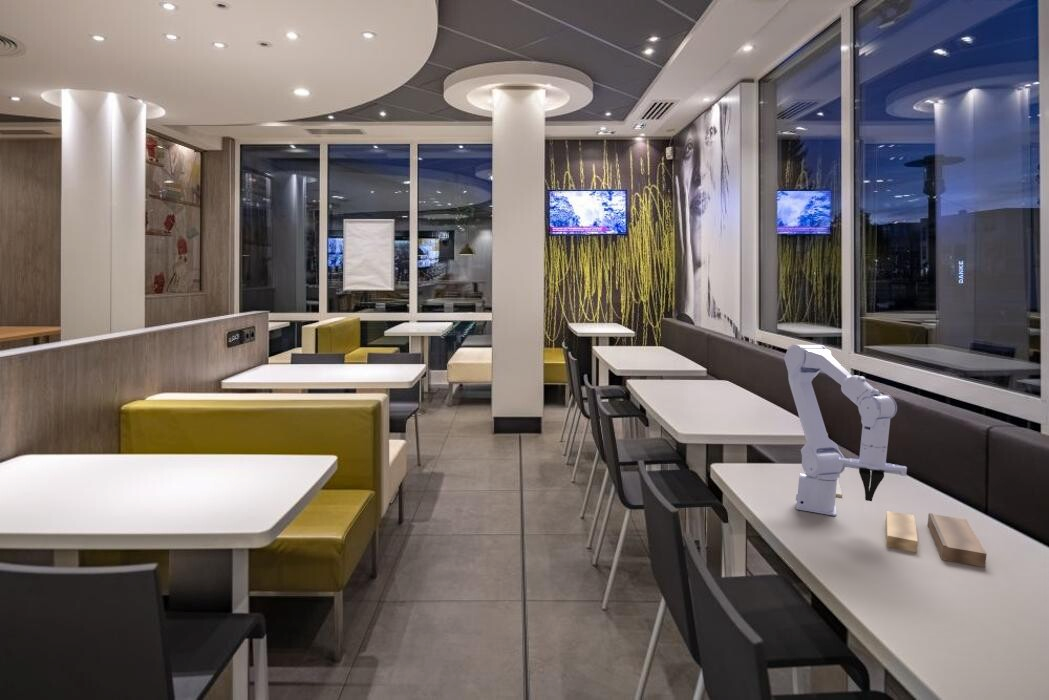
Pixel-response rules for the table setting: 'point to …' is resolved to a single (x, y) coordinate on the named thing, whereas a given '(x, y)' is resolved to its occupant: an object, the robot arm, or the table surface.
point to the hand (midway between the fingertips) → (868, 499)
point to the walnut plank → (956, 540)
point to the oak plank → (901, 531)
